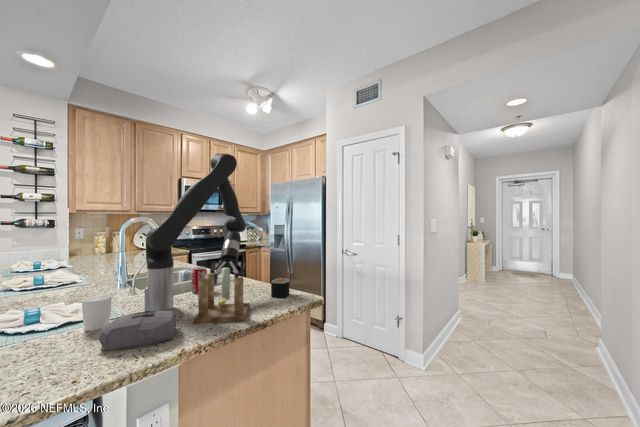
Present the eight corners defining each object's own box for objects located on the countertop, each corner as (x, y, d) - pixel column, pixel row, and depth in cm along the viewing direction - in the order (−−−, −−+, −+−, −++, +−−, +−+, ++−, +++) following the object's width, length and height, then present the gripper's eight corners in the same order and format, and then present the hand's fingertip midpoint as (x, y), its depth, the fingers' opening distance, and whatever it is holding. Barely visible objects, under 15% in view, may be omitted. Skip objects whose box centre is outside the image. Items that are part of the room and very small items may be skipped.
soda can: (209, 290, 137) (209, 266, 137) (202, 294, 130) (202, 269, 130) (196, 289, 138) (196, 266, 138) (188, 293, 131) (188, 269, 131)
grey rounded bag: (177, 325, 94) (106, 336, 86) (177, 301, 94) (106, 310, 86) (175, 344, 81) (90, 359, 72) (175, 316, 81) (90, 328, 72)
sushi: (268, 297, 125) (268, 280, 126) (277, 292, 133) (277, 276, 133) (283, 299, 122) (283, 281, 122) (292, 294, 130) (292, 277, 130)
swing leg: (225, 305, 106) (225, 272, 106) (216, 306, 106) (216, 273, 106) (230, 297, 117) (230, 267, 117) (222, 297, 117) (222, 267, 117)
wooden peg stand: (193, 324, 95) (193, 281, 95) (205, 310, 109) (205, 272, 109) (244, 321, 97) (244, 279, 97) (249, 307, 111) (249, 271, 111)
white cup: (117, 324, 95) (117, 295, 95) (91, 333, 88) (91, 302, 88) (101, 321, 98) (101, 293, 98) (76, 330, 90) (76, 300, 90)
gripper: (212, 247, 122) (205, 279, 110) (245, 246, 124) (241, 277, 112) (215, 257, 127) (209, 288, 115) (247, 256, 129) (243, 287, 117)
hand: (225, 283), depth 114 cm, fingers open, 7 cm apart
